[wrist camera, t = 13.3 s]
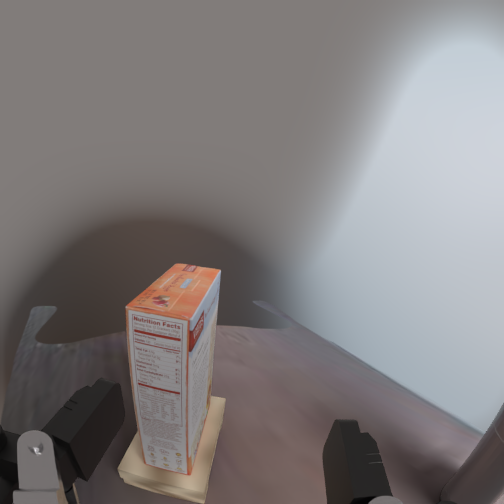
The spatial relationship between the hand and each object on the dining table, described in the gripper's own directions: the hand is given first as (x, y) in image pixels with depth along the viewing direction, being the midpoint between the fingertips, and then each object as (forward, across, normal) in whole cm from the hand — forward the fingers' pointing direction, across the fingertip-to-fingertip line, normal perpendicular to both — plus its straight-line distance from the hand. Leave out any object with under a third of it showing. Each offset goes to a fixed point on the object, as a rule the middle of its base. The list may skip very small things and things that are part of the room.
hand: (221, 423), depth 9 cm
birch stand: (+18, +7, +26) cm, 33 cm away
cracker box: (+18, +7, +23) cm, 30 cm away
